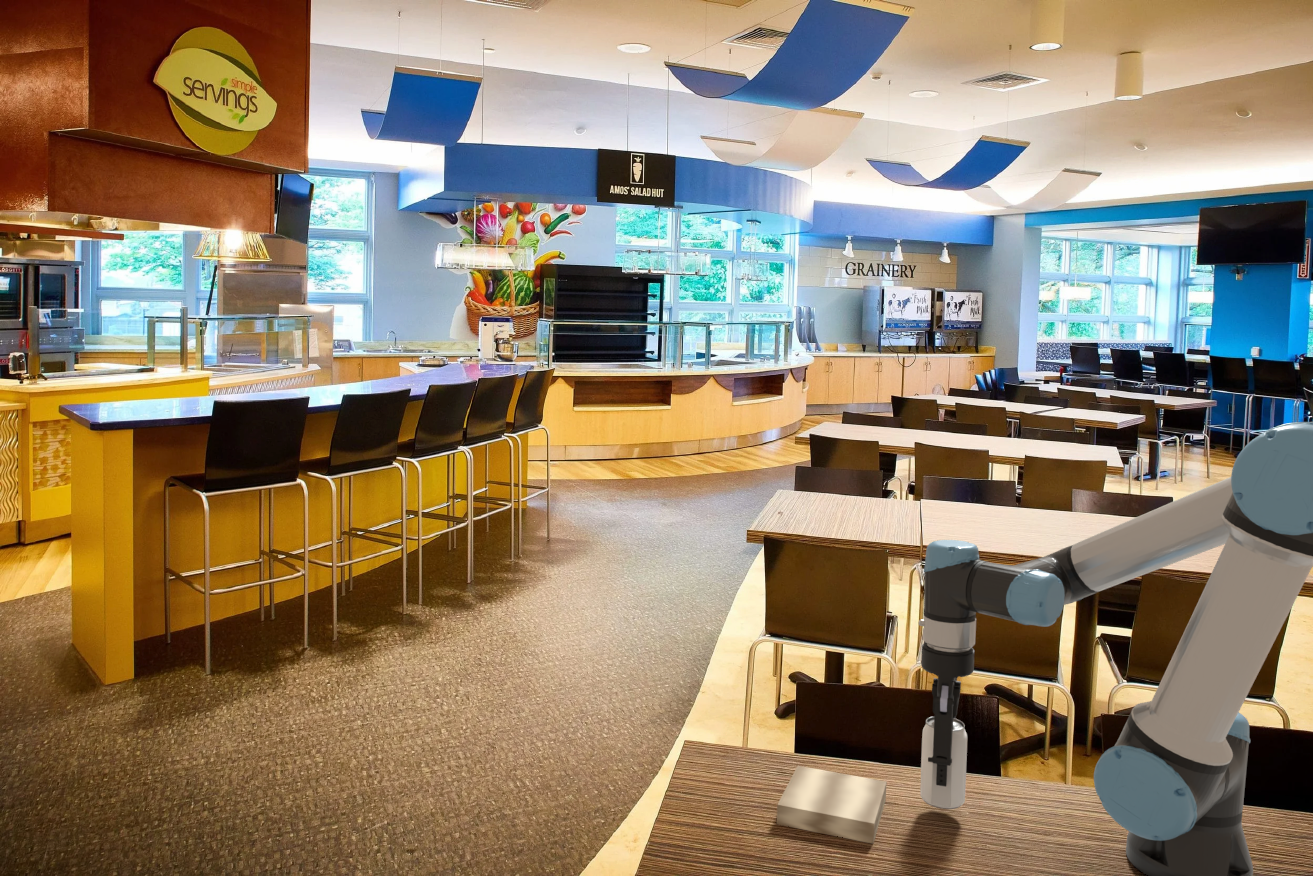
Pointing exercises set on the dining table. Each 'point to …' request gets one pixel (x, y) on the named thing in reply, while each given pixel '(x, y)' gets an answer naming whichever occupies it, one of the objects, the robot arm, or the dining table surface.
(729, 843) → the dining table surface
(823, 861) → the dining table surface
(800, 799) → the riser
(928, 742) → the can
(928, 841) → the dining table surface
